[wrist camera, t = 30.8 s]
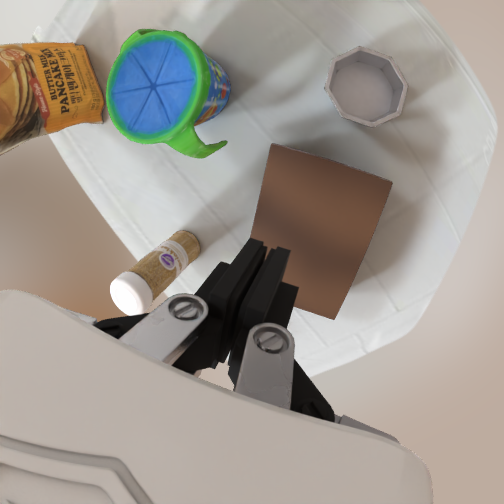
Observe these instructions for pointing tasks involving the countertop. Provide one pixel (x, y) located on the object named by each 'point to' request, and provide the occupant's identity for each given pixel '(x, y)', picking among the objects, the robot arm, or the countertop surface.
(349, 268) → the lid
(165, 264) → the sprinkles bottle
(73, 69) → the pancake mix bag
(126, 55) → the snack cup
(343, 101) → the steel cup
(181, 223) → the countertop surface
